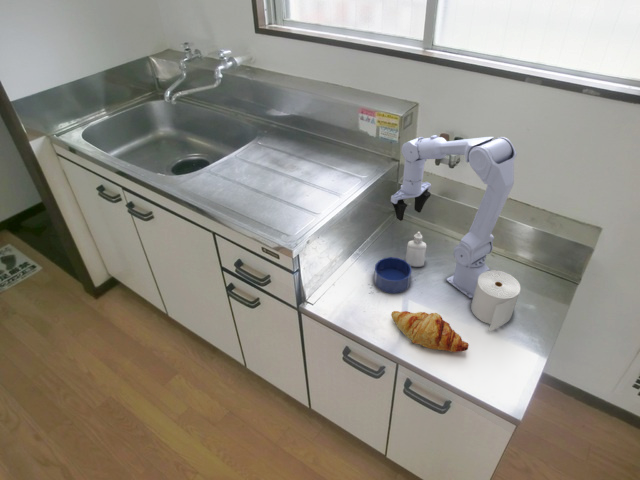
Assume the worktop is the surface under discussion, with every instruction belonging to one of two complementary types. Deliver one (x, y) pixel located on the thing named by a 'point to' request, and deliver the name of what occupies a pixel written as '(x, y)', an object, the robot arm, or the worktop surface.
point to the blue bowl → (392, 275)
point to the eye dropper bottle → (416, 251)
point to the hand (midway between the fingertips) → (408, 215)
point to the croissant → (429, 331)
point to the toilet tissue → (495, 298)
